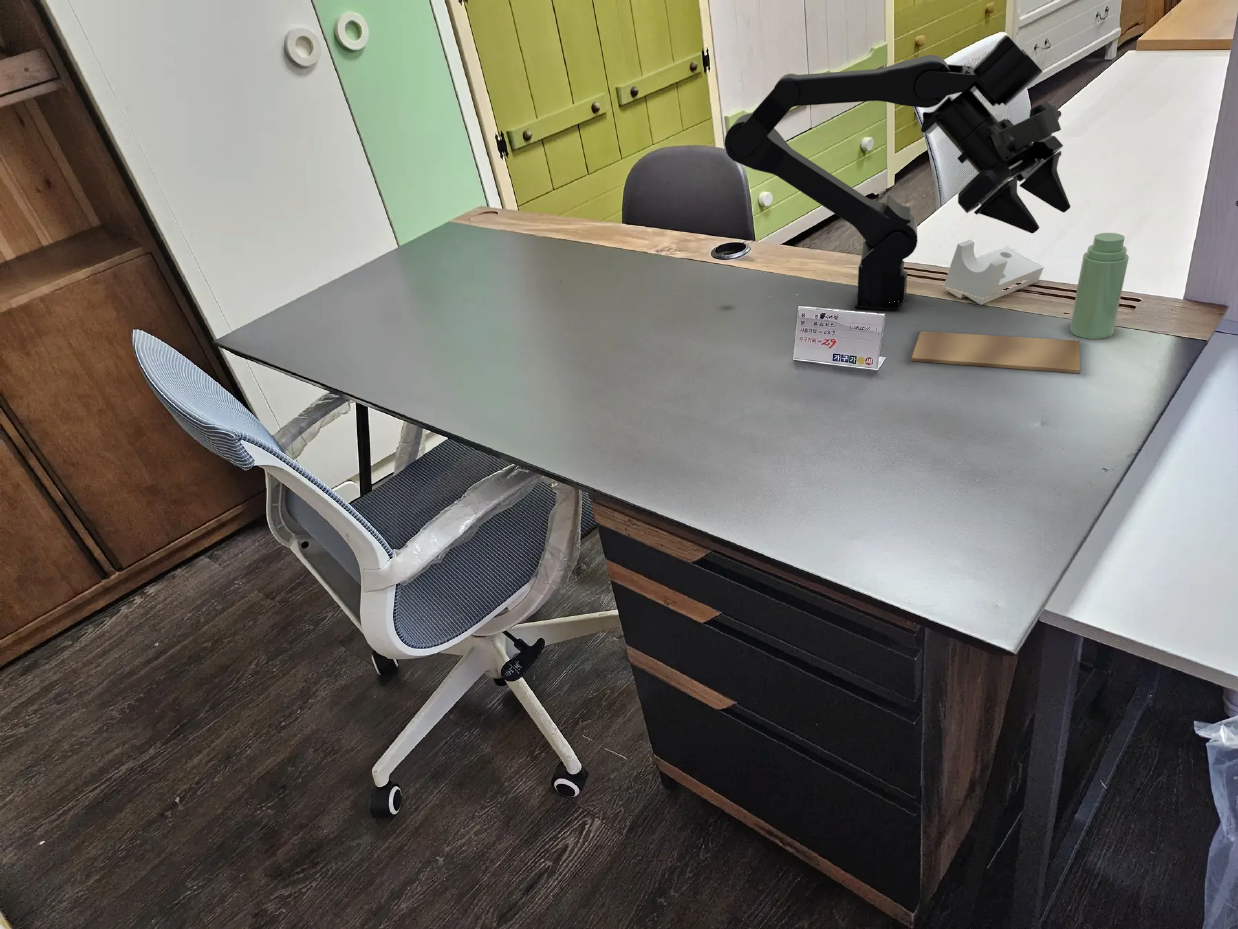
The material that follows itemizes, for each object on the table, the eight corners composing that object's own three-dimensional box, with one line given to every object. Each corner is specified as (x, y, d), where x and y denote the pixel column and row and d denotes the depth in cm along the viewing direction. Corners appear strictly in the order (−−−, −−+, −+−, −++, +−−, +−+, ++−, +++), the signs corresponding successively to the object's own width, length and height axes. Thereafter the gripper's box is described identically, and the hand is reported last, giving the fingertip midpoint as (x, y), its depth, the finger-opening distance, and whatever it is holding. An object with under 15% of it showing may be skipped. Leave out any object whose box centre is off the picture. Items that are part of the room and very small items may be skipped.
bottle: (1069, 337, 114) (1086, 242, 107) (1069, 322, 117) (1086, 230, 111) (1113, 340, 111) (1134, 243, 105) (1112, 324, 115) (1131, 230, 109)
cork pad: (911, 361, 113) (911, 357, 113) (920, 334, 120) (920, 330, 119) (1079, 373, 105) (1080, 369, 105) (1079, 344, 112) (1079, 340, 111)
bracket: (978, 310, 127) (995, 265, 121) (943, 287, 131) (957, 243, 126) (1035, 286, 132) (1054, 243, 126) (999, 265, 136) (1016, 222, 131)
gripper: (985, 103, 102) (1070, 200, 100) (1054, 71, 112) (1133, 158, 110) (924, 167, 112) (1001, 257, 110) (992, 132, 122) (1064, 214, 120)
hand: (1052, 220), depth 112 cm, fingers open, 9 cm apart
